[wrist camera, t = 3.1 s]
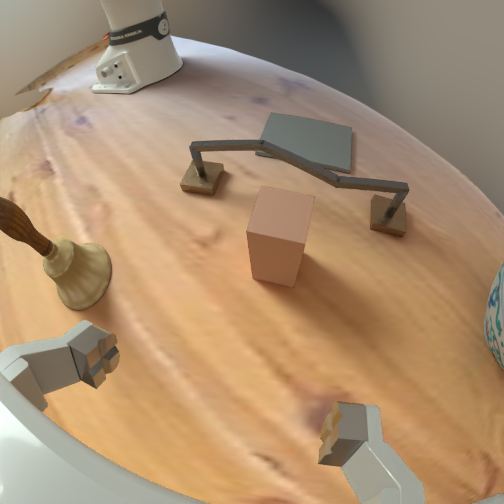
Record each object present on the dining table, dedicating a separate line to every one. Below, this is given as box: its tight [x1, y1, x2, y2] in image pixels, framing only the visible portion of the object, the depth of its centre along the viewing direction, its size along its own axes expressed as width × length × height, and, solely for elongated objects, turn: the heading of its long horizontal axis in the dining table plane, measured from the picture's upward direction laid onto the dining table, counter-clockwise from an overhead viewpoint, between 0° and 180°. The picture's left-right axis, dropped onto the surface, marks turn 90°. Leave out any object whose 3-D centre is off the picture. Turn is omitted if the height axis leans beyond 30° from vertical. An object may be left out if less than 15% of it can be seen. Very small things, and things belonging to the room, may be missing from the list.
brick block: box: [246, 186, 315, 288], centre depth 23 cm, size 4×4×9 cm
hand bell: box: [0, 197, 111, 310], centre depth 20 cm, size 8×8×16 cm
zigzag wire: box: [180, 140, 409, 237], centre depth 28 cm, size 26×4×6 cm, turn 74°
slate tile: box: [255, 113, 352, 173], centre depth 34 cm, size 12×9×1 cm
